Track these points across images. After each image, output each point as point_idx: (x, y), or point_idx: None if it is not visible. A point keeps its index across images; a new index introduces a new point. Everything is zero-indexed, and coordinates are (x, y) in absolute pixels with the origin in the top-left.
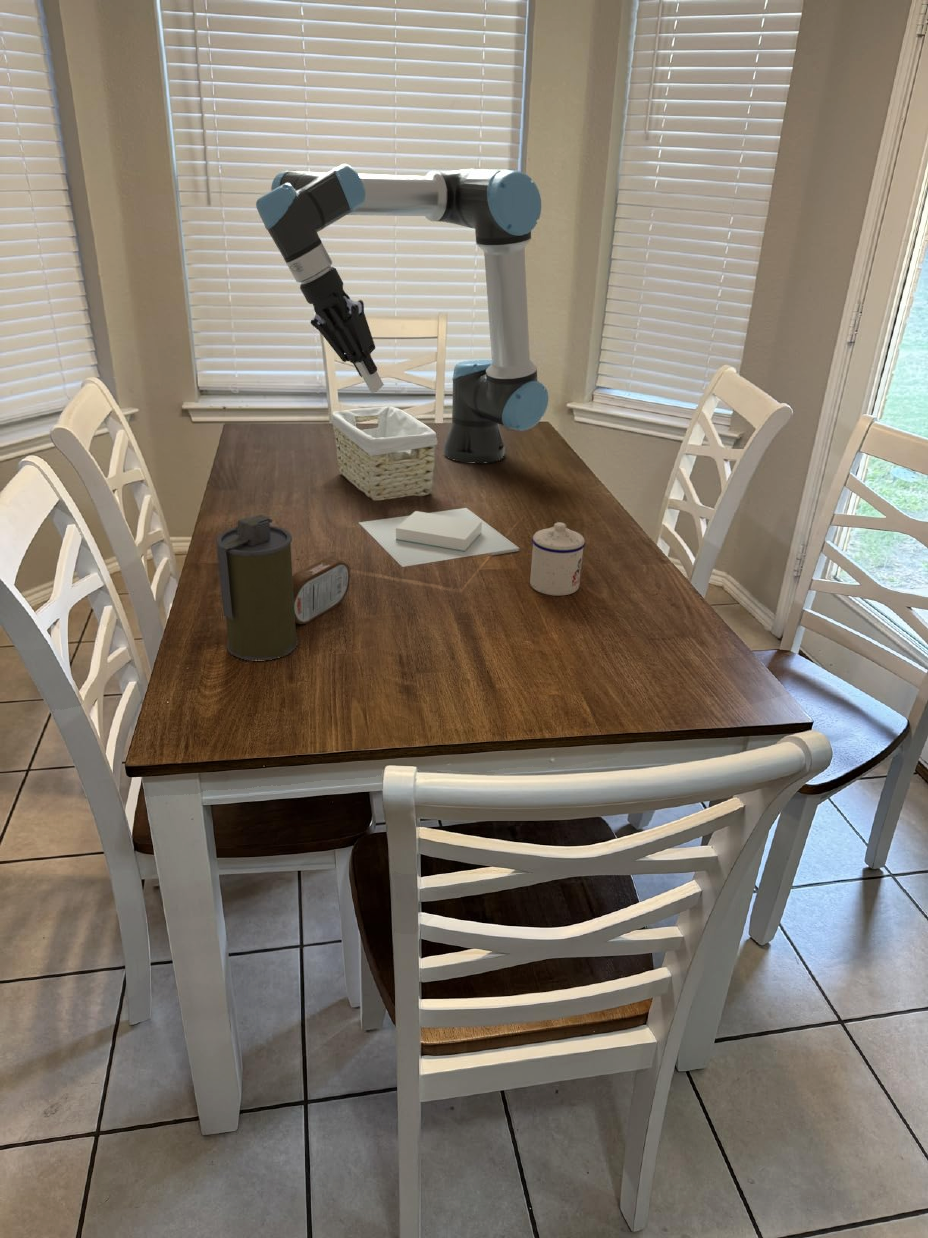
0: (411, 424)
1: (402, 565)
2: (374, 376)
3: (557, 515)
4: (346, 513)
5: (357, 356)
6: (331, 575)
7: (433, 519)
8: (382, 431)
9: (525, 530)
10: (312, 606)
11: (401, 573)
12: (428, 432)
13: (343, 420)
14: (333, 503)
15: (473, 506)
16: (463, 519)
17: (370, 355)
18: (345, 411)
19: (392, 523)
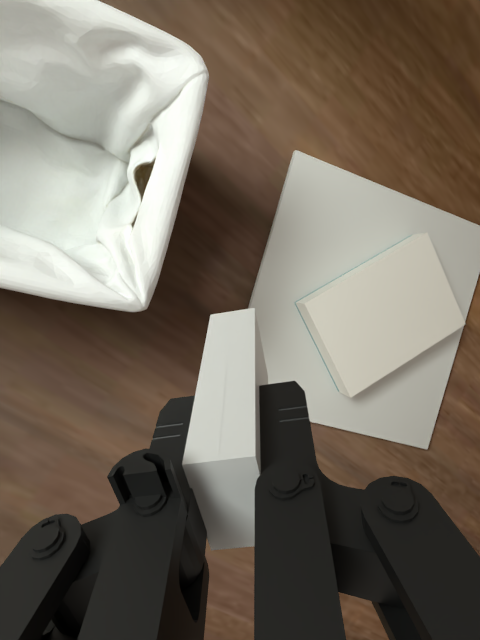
0: (5, 2)
1: (423, 446)
2: (262, 384)
3: (426, 21)
4: (145, 382)
5: (195, 537)
6: None
7: (362, 304)
8: None
9: (437, 143)
10: None
11: (431, 455)
12: (158, 53)
13: None
14: (68, 371)
15: (284, 118)
16: (397, 253)
17: (320, 472)
18: None
19: (269, 344)
